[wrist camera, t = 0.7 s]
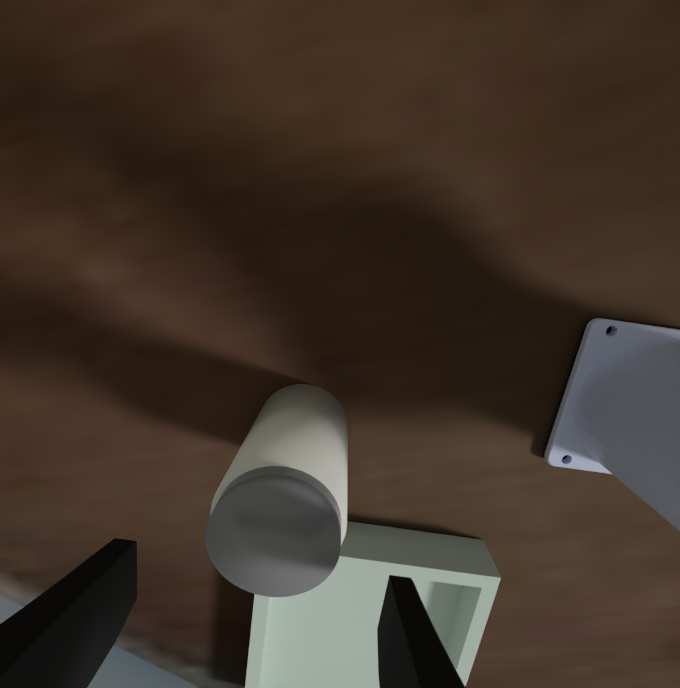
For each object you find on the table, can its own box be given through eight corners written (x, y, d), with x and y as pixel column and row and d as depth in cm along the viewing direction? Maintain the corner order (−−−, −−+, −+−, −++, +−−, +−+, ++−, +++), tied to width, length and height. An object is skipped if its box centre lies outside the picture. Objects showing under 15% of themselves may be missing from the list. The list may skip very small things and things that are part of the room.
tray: (483, 539, 21) (501, 578, 18) (431, 711, 24) (440, 761, 22) (270, 510, 21) (259, 545, 18) (250, 688, 24) (240, 736, 22)
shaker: (353, 390, 19) (357, 490, 11) (340, 469, 20) (335, 610, 12) (263, 378, 19) (201, 469, 11) (255, 458, 20) (196, 591, 12)
